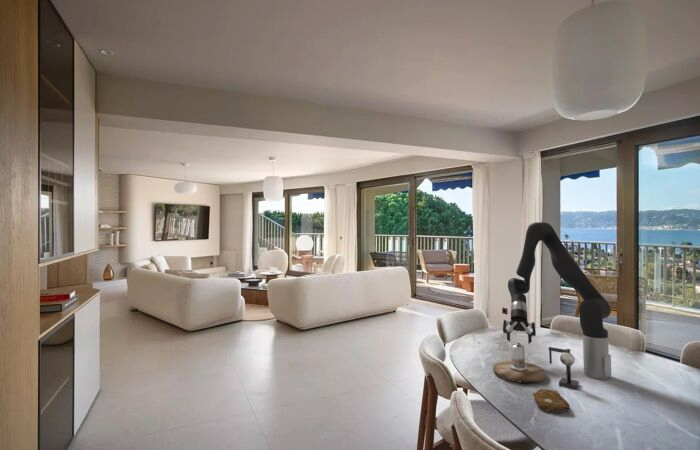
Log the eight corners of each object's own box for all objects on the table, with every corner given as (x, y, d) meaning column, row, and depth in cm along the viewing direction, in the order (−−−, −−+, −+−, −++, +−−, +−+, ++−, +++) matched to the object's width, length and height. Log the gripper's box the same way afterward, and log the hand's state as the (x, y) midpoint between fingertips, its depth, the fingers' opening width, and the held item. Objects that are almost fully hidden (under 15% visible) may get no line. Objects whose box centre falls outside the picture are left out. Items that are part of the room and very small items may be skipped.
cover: (530, 369, 161) (529, 344, 161) (521, 372, 157) (520, 347, 157) (515, 364, 166) (515, 340, 166) (507, 368, 162) (506, 343, 163)
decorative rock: (528, 395, 142) (539, 416, 128) (527, 385, 142) (538, 404, 128) (560, 396, 140) (575, 417, 125) (559, 385, 140) (574, 405, 125)
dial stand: (578, 384, 150) (577, 349, 150) (576, 389, 146) (574, 352, 146) (551, 378, 157) (550, 344, 157) (548, 383, 152) (547, 347, 152)
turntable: (555, 374, 159) (555, 370, 159) (528, 386, 147) (528, 382, 147) (510, 360, 176) (510, 357, 176) (483, 370, 164) (483, 366, 164)
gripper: (503, 307, 184) (502, 335, 173) (534, 309, 177) (536, 339, 167) (503, 315, 188) (503, 344, 178) (535, 317, 182) (536, 347, 171)
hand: (519, 341), depth 172 cm, fingers open, 8 cm apart
